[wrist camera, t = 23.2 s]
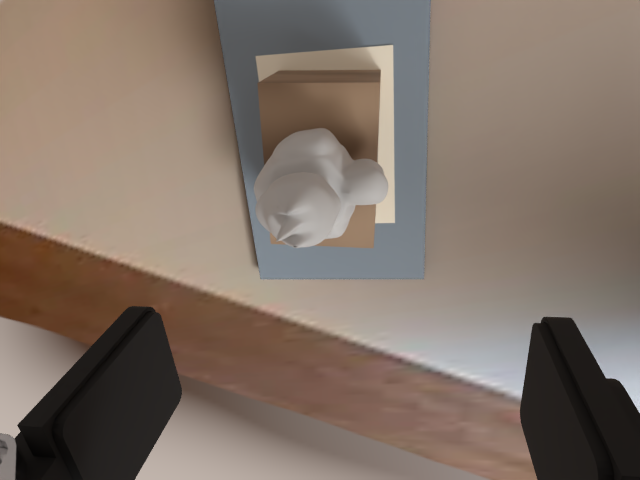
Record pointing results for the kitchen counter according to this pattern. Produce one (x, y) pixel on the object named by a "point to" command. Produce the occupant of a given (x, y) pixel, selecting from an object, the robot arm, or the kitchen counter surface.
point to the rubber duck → (314, 188)
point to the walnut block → (326, 125)
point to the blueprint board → (394, 116)
